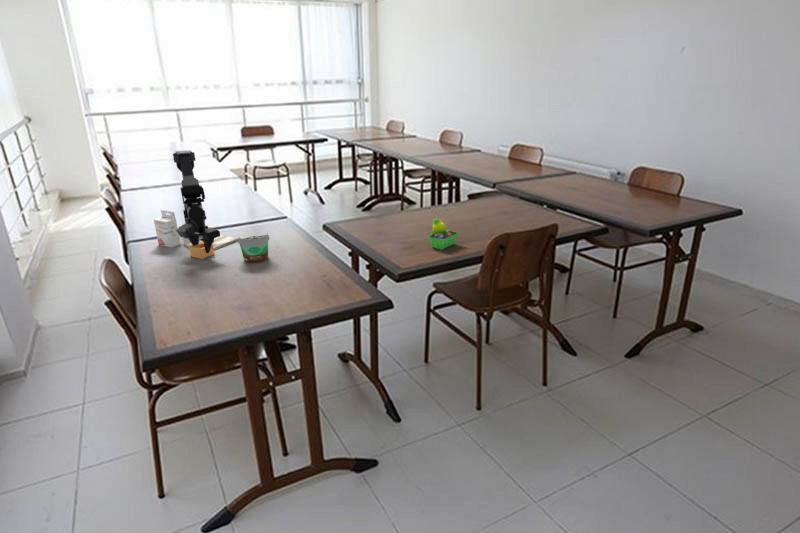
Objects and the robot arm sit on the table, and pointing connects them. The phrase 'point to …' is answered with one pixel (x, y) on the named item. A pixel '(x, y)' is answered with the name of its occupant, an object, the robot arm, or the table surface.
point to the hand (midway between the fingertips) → (202, 251)
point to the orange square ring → (200, 251)
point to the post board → (217, 241)
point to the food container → (254, 248)
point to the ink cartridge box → (167, 229)
